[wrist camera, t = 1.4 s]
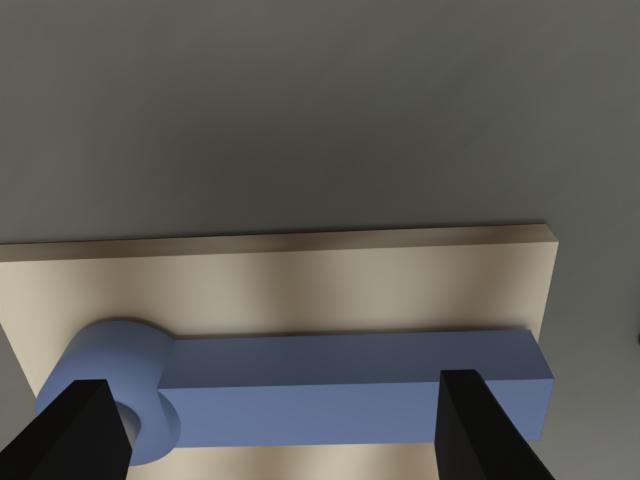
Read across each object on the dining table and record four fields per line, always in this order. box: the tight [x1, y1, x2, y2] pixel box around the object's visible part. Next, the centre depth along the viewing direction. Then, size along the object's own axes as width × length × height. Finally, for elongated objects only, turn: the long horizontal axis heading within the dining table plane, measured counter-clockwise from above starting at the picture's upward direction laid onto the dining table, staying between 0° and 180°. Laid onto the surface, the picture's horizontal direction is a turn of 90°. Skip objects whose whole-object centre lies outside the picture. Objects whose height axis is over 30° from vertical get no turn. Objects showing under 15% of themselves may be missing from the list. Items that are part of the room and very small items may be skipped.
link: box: [35, 321, 554, 466], centre depth 19 cm, size 18×5×3 cm, turn 93°
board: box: [0, 224, 559, 480], centre depth 24 cm, size 20×20×1 cm
